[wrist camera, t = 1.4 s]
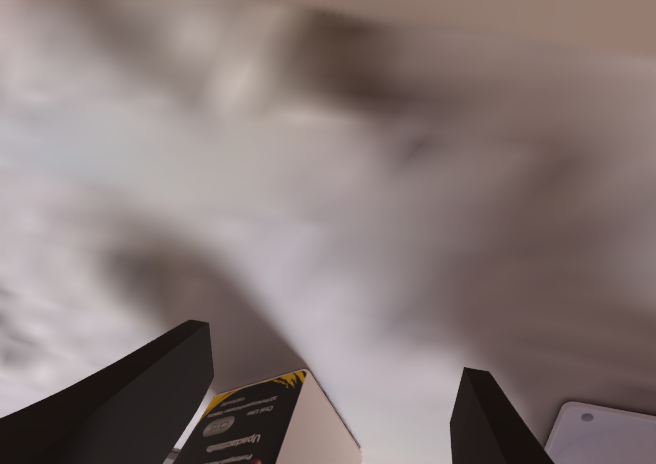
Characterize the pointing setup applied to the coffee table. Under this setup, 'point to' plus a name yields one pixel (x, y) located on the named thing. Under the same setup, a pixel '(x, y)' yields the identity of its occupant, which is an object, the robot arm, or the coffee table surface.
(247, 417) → the medicine box
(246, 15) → the coffee table surface
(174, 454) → the grey flat slab
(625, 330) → the coffee table surface
